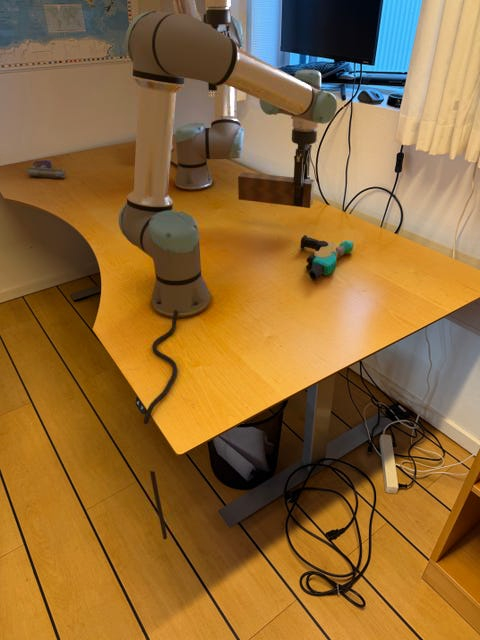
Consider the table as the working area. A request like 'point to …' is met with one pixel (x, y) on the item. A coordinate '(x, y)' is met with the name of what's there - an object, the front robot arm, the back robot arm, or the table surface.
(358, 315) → the table surface
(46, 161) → the toy gun
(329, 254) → the toy gun
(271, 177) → the bar
